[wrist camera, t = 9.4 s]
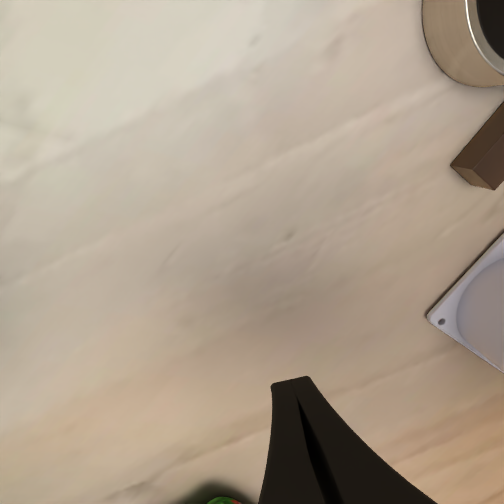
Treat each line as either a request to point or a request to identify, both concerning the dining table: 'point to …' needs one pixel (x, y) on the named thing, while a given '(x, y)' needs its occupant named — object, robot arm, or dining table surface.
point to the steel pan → (467, 39)
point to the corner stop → (484, 154)
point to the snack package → (223, 501)
